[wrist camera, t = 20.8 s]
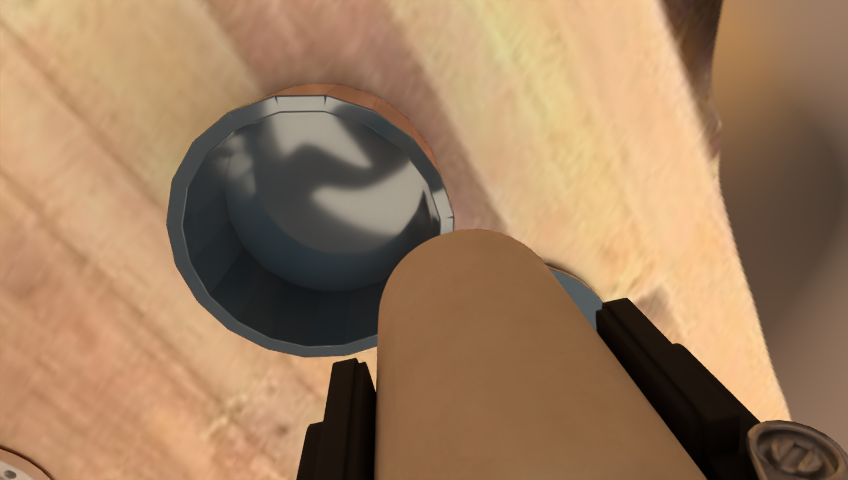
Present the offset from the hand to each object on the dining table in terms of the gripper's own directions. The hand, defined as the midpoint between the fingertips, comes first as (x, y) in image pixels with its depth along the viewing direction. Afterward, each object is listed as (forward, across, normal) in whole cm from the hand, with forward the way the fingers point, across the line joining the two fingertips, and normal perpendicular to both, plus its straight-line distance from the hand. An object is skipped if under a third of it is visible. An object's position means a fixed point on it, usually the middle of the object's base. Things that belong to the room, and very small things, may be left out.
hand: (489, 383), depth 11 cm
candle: (+4, 0, 0) cm, 4 cm away
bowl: (+21, +6, 0) cm, 22 cm away
